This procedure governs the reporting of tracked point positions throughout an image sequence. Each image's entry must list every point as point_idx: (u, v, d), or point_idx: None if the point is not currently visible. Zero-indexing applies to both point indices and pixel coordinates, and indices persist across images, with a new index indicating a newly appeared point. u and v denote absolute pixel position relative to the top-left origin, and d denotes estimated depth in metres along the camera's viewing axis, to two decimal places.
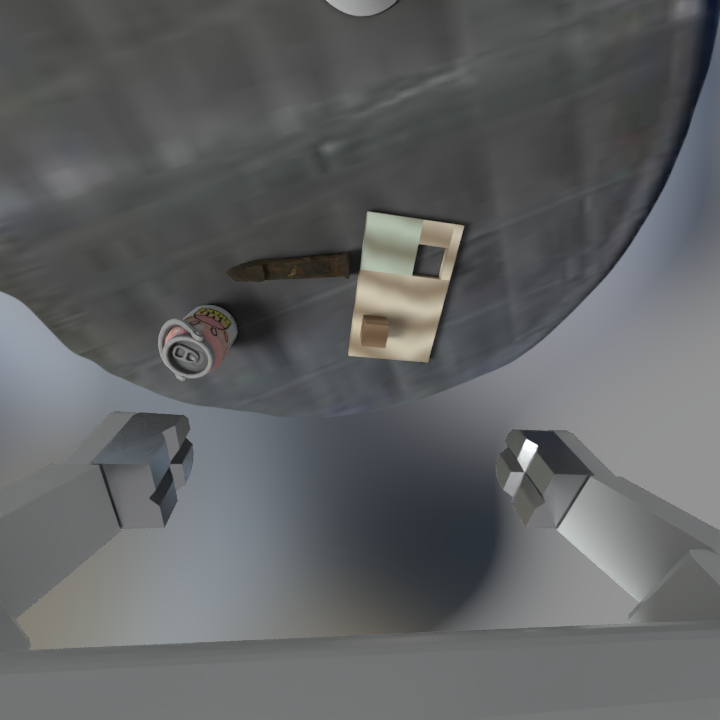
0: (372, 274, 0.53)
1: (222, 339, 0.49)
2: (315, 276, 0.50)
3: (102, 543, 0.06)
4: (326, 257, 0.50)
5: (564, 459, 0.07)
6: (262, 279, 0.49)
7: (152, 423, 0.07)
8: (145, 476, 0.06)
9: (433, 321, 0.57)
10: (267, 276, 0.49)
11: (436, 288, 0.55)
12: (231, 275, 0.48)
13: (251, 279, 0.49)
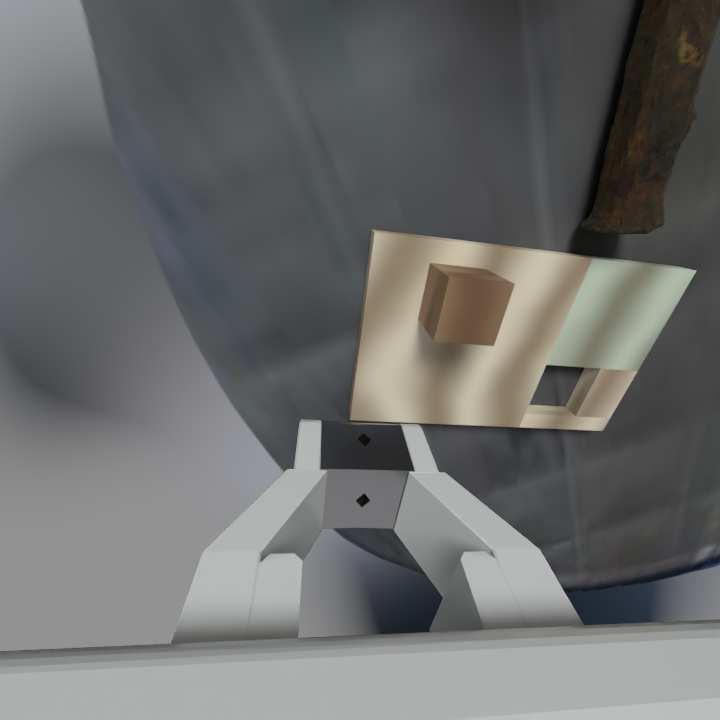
0: (573, 286, 0.24)
1: None
2: (642, 133, 0.18)
3: None
4: None
5: (390, 454, 0.07)
6: None
7: (342, 430, 0.07)
8: (360, 480, 0.07)
9: (444, 415, 0.28)
10: None
11: (510, 409, 0.29)
12: None
13: None
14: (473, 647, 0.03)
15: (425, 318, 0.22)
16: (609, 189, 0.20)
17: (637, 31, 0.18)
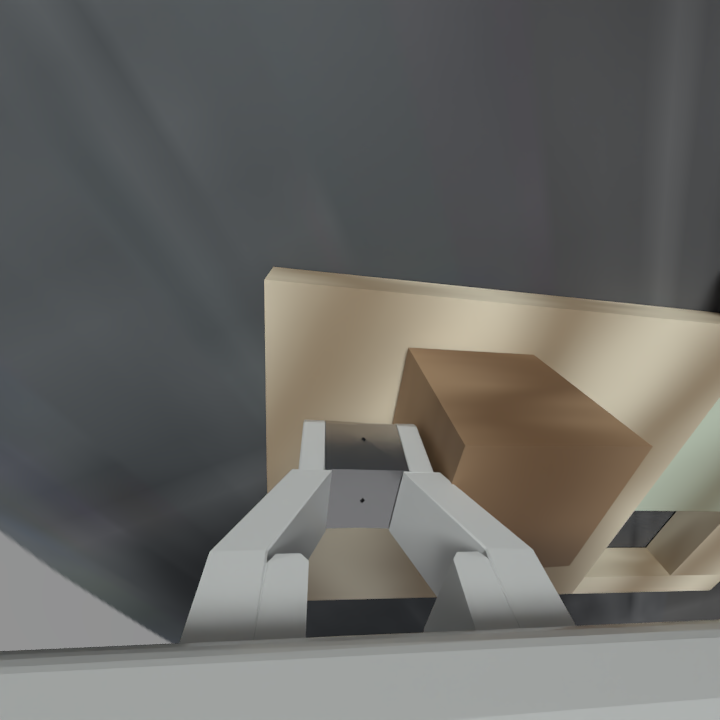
0: (716, 383, 0.11)
1: None
2: None
3: (318, 542, 0.07)
4: None
5: (385, 454, 0.07)
6: None
7: (347, 431, 0.07)
8: (364, 480, 0.07)
9: None
10: None
11: (559, 573, 0.16)
12: None
13: None
14: (473, 647, 0.03)
15: None
16: None
17: None
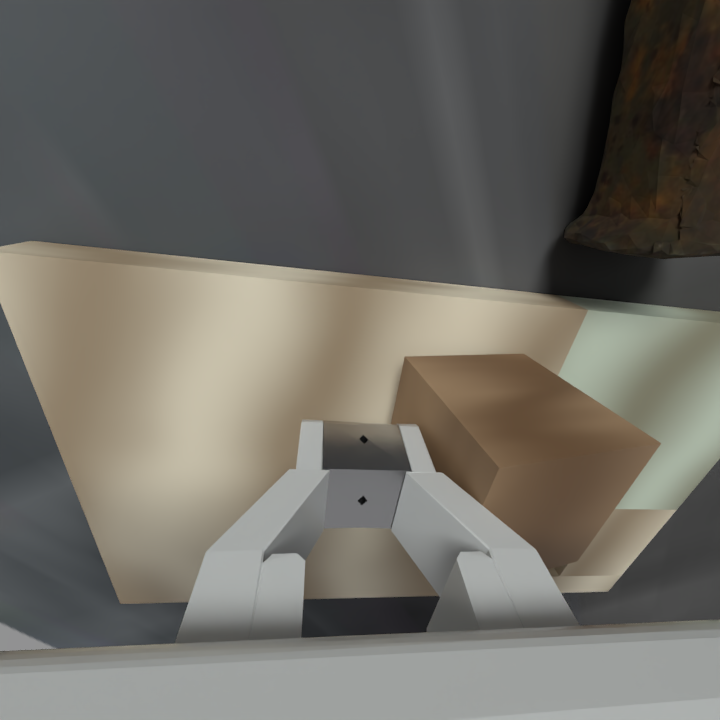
0: None
1: None
2: None
3: (315, 542, 0.07)
4: None
5: (388, 453, 0.07)
6: None
7: (344, 430, 0.07)
8: (362, 480, 0.07)
9: (308, 587, 0.15)
10: None
11: None
12: None
13: None
14: (473, 647, 0.03)
15: None
16: (640, 131, 0.07)
17: None
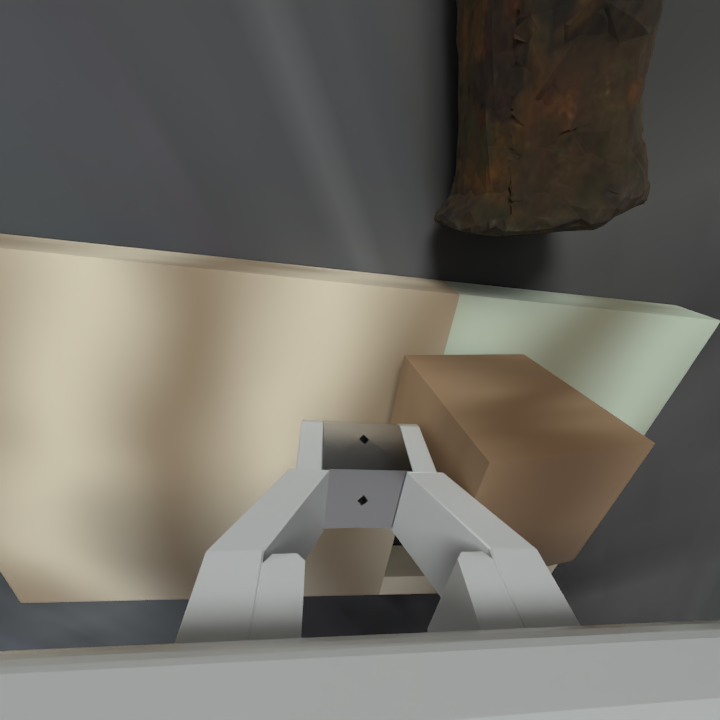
0: None
1: None
2: None
3: (315, 542, 0.07)
4: None
5: (389, 453, 0.07)
6: None
7: (344, 430, 0.07)
8: (362, 480, 0.07)
9: None
10: None
11: (351, 572, 0.15)
12: None
13: None
14: (473, 647, 0.03)
15: None
16: (472, 100, 0.07)
17: None
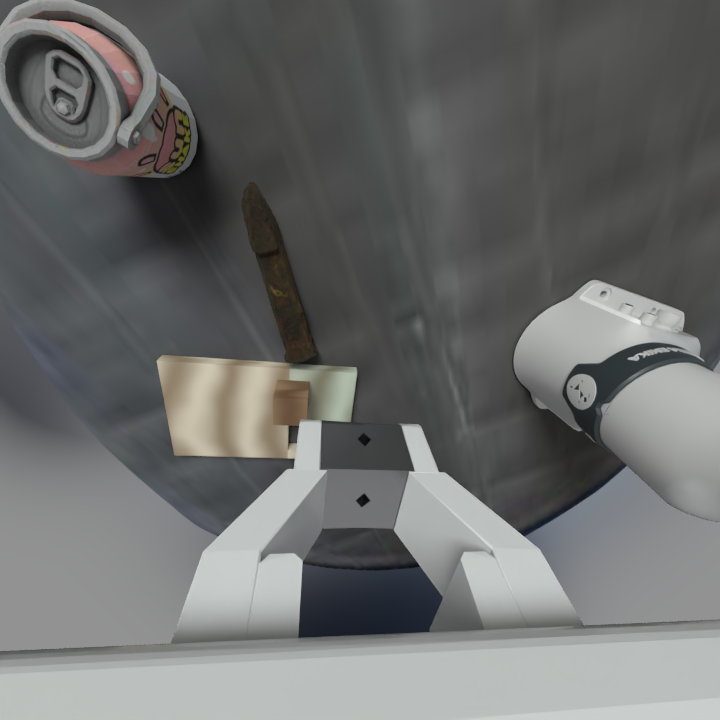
0: None
1: (132, 173, 0.24)
2: (277, 321, 0.36)
3: None
4: (306, 329, 0.38)
5: (390, 453, 0.07)
6: (255, 250, 0.31)
7: (343, 430, 0.07)
8: (360, 480, 0.07)
9: (234, 451, 0.46)
10: (261, 256, 0.32)
11: (276, 448, 0.46)
12: (248, 198, 0.29)
13: (251, 232, 0.31)
14: (473, 647, 0.03)
15: None
16: None
17: None
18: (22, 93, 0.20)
